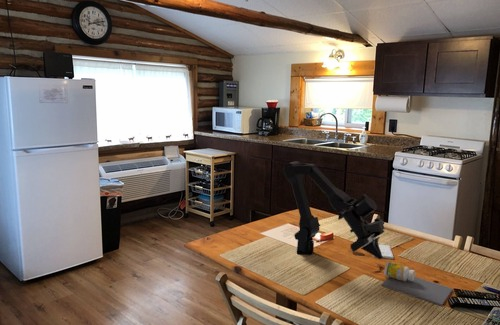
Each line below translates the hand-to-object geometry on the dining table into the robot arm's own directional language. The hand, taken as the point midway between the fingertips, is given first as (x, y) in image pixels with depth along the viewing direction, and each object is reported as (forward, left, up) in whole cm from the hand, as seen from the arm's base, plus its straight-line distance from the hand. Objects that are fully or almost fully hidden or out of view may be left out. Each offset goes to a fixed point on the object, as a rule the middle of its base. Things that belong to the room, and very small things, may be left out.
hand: (381, 258), depth 144 cm
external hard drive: (+5, +23, -8) cm, 25 cm away
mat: (+11, -7, -7) cm, 15 cm away
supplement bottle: (+2, 0, -4) cm, 4 cm away
